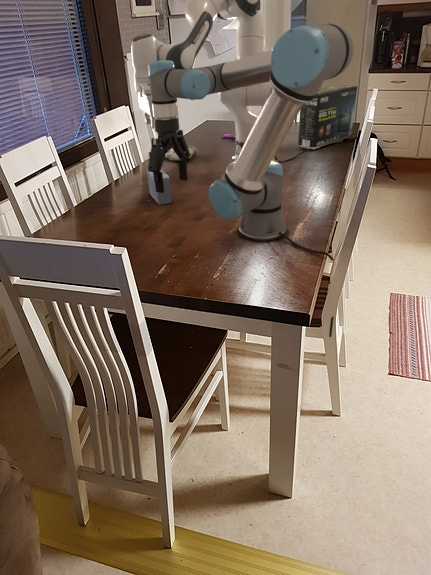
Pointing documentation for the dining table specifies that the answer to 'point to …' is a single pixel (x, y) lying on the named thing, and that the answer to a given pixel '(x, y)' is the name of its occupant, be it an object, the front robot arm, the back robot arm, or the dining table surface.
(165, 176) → the grey long flat panel
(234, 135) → the handgun
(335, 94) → the router box
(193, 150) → the fossil
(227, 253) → the dining table surface
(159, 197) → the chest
